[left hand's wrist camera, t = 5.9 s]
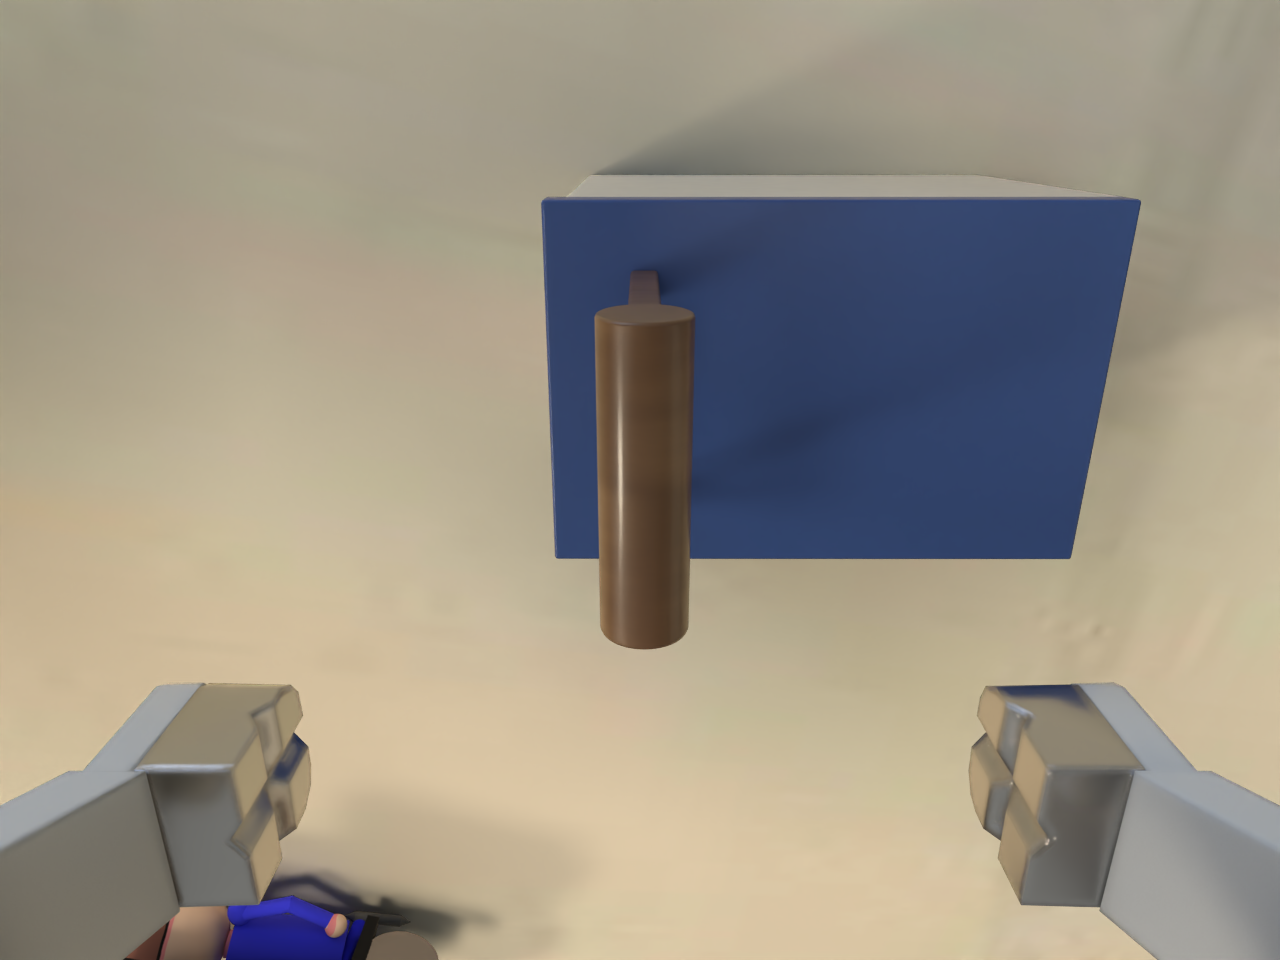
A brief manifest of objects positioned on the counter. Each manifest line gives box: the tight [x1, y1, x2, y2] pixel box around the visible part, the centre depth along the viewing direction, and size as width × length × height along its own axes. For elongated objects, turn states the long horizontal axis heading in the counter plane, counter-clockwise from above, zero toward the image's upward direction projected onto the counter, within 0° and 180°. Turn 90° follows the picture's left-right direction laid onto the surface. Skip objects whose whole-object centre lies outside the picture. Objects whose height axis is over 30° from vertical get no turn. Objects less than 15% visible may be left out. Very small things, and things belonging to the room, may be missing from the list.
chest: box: [567, 175, 1120, 197], centre depth 30 cm, size 14×10×11 cm
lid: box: [541, 197, 1141, 649], centre depth 21 cm, size 15×10×8 cm, turn 90°
